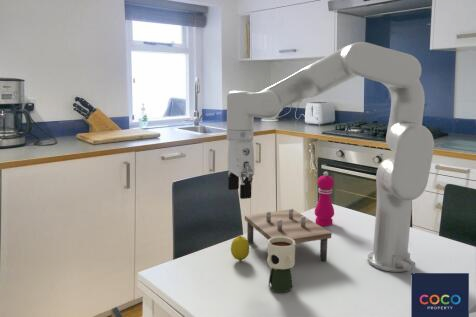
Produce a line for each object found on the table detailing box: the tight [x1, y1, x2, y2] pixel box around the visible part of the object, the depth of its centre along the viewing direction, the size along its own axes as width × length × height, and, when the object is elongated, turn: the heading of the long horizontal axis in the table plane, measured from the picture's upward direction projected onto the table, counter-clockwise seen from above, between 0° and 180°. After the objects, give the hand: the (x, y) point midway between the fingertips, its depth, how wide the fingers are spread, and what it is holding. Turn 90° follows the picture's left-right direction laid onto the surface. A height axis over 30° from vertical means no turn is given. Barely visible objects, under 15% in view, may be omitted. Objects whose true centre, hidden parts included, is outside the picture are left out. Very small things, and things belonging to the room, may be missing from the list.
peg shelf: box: [244, 208, 332, 263], centre depth 133 cm, size 24×18×12 cm
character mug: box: [266, 237, 296, 293], centre depth 110 cm, size 11×7×13 cm, turn 25°
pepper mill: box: [314, 171, 335, 227], centre depth 157 cm, size 7×7×20 cm
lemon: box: [230, 235, 250, 262], centre depth 126 cm, size 6×6×8 cm
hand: (239, 193), depth 123 cm, fingers open, 9 cm apart
